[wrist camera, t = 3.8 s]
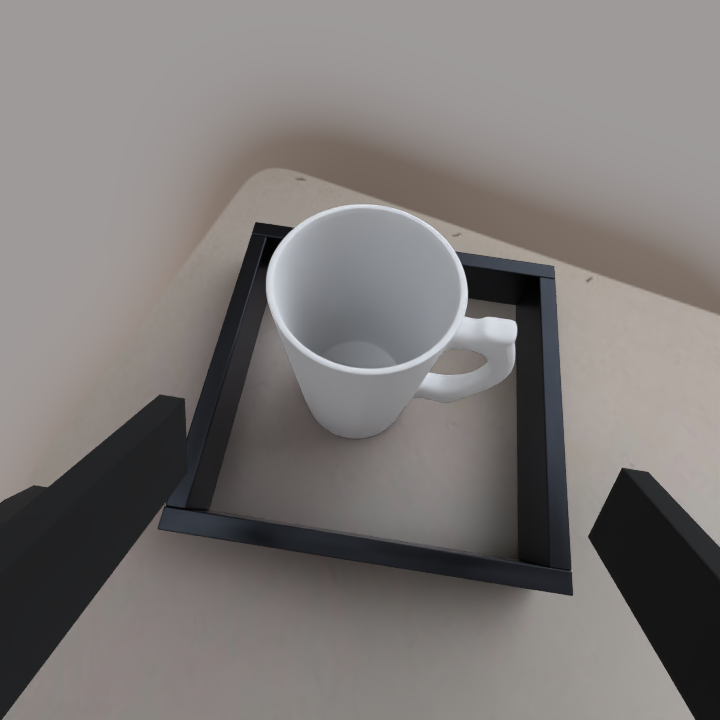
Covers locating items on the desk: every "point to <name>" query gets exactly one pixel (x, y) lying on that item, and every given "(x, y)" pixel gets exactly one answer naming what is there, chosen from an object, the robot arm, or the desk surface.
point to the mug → (377, 317)
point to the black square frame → (535, 538)
